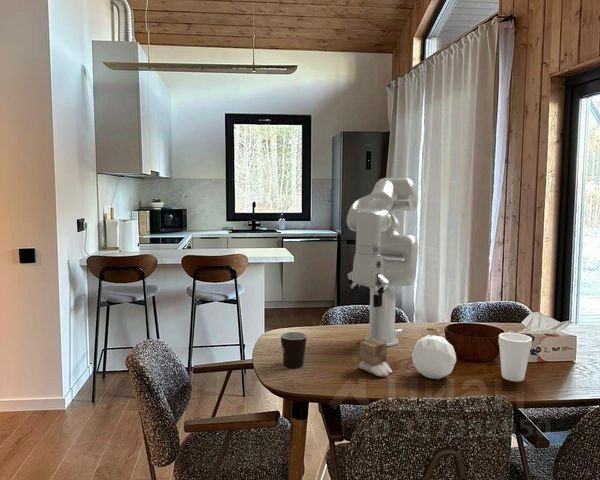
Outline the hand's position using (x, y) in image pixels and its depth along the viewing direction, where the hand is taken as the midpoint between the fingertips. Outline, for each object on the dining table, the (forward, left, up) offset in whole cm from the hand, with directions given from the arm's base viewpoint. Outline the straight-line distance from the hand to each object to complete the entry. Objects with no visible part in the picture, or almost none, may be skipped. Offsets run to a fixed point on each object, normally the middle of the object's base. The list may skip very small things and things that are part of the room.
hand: (366, 303), depth 158 cm
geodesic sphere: (-14, +16, -22) cm, 31 cm away
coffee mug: (+15, -18, -22) cm, 32 cm away
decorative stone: (-3, +2, -23) cm, 23 cm away
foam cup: (-34, +31, -22) cm, 51 cm away
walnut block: (-2, +2, -19) cm, 19 cm away
